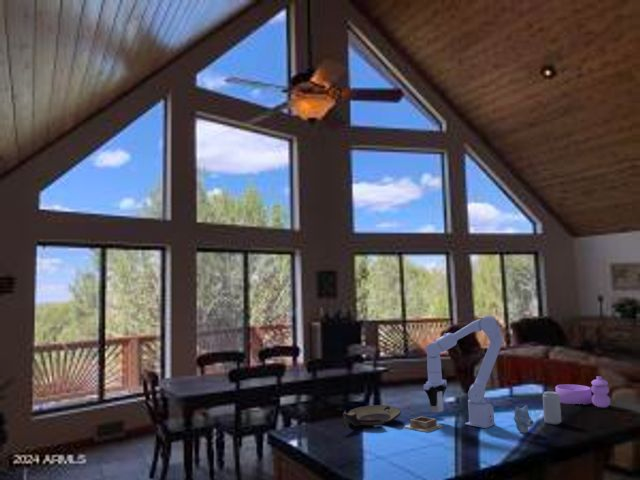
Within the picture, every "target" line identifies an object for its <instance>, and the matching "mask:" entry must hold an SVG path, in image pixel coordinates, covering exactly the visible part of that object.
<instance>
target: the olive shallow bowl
mask: <svg viewBox="0 0 640 480" xmlns="http://www.w3.org/2000/svg"><path fill="white" fill-rule="evenodd" d="M401 413H402V410H401V409H400V408H399V407H396V406H395V405H389V404H377V405H376V404H375V405H365V406H359V407H356V408H353V409H351V410H349V411H348V412H347V413H346V412H343V413H342V417H344V418H345V419H346V420H347V421H349V422H350V424H352V425H353V426H356V427H358V426H369V427H371V426H380V425H384V424H388V423H390V422H392V421H394V420H396V419H397V418H399V417H400V415H401Z"/></svg>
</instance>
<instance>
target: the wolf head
mask: <svg viewBox="0 0 640 480" xmlns="http://www.w3.org/2000/svg"><path fill="white" fill-rule="evenodd" d="M513 420H514V423H515V425H516V426H515V427H516V430H518V432H520V433H523V434H527V433H528V431H529V428H531V427H533V426H534V425H535V422H534V421H533V419H532V418H531V416H530V413H529V409H528V405H527V404H526V405H524V406H523V407H520V406H515V408H514V416H513Z"/></svg>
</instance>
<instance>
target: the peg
mask: <svg viewBox="0 0 640 480" xmlns="http://www.w3.org/2000/svg"><path fill="white" fill-rule="evenodd" d="M428 401H429V400H428ZM428 403H429V412H432V413H440V412H443V411H444V396H443V394H442V391H438V392H437V398H436V406H431V404H430V401H429V402H428Z"/></svg>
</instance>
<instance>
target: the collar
mask: <svg viewBox="0 0 640 480" xmlns="http://www.w3.org/2000/svg"><path fill="white" fill-rule="evenodd" d="M437 421H438V420H437V418H434V417H433V418H432V417H429V416H428V417H427V416H417V417H414V418H412V419H409V424H407V425H405V426H404V429H408V430H414V431H418V432H422V433H430V432H432V431H435V430H438V429H441V428H444V426H443V424H439V423H438V422H437Z"/></svg>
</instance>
